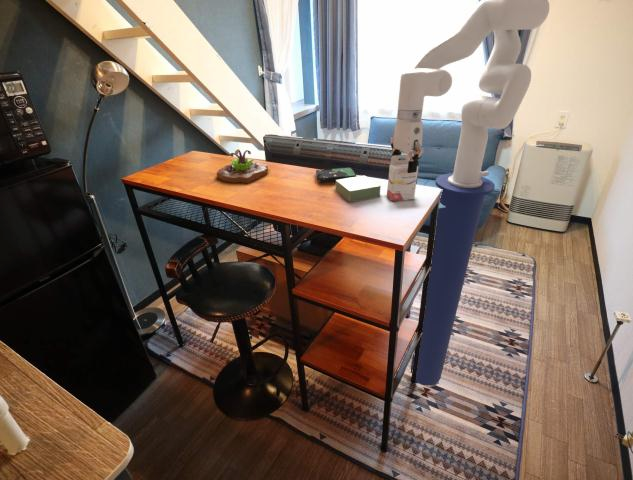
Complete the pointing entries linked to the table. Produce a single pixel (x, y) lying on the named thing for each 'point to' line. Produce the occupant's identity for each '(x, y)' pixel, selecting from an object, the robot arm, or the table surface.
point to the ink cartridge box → (401, 179)
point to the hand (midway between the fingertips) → (403, 168)
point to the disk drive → (334, 174)
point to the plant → (242, 170)
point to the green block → (357, 188)
